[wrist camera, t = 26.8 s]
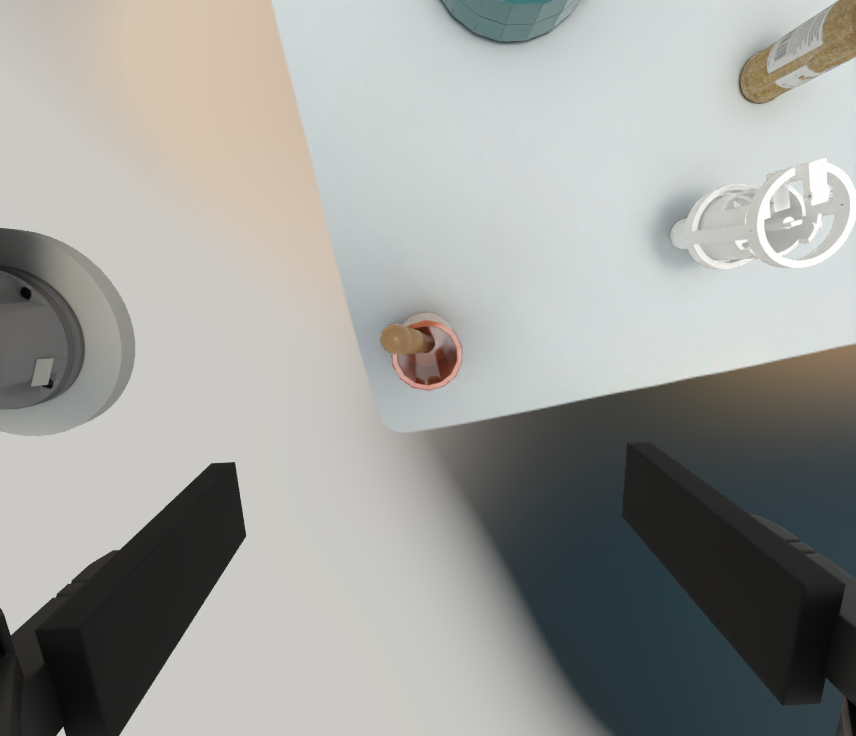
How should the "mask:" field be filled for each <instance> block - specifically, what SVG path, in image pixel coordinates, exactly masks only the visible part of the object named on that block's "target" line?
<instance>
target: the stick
mask: <svg viewBox="0 0 856 736" xmlns="http://www.w3.org/2000/svg"><path fill="white" fill-rule="evenodd" d="M380 340H381V344H382V347H383V348H384V349H385V350H386V351H387V352H389V353H392V354H418V353H429V352H431V351H432V350H433V349H434V347H435V340H434V338H433V337H432V336H431V335H429V334H426V333H423V332H421V331H418V330H415V329H412V328H409V327H407V326H404V325H401V324H390V325H388V326H387V327H385V328H384V330H383V331H382V333H381V337H380Z"/></svg>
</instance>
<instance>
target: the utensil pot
mask: <svg viewBox="0 0 856 736" xmlns="http://www.w3.org/2000/svg"><path fill="white" fill-rule="evenodd" d="M401 325H404V326H407V327H409V328H412V329H415V330H418V331H421V332H423V333H426V334H429V335H431V336H432V337H433V338H434V340H435V347H434V349H433V350H432V351H431V352H429V353H418V354H392V364H393V367H394V369H395V370H396V372H397V374H398V376H399V377H400V379H401V380H403V381H404V382H406V383H407V384H408V385H410V386H411V387H413V388H417V389H423V390H432V389H436V388H440V387H443V386H445V385H446V384H447V383H449V382H450V381H451V380H452V379H453V378H455V377H456V375H457V373H458V371H459V368H460V366H461V364H462V345H461V343H460V342H459V340H458V338H457V336H456V334H455V332H454V330H453V329H452V327H451V326H450V324H449V323H448V322H447V321H446V320H445V319H443V318H442V317H440V316H439V315H437V314H433V313H428V312H423V313H418V314H415V315H412V316H410V317H409V318H408V319H406V320H405V321H404V322H403V323H402V324H401Z"/></svg>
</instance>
